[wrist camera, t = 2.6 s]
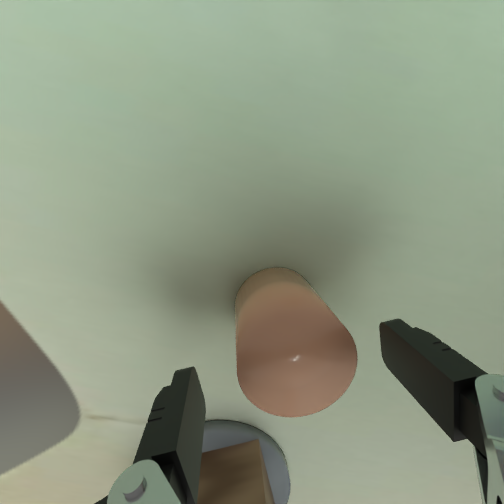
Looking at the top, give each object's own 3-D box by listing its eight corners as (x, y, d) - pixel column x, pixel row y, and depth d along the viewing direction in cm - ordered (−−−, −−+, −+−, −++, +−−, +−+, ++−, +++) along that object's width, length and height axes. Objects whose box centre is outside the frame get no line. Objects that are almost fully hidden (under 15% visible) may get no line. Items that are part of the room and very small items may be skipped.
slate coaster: (273, 405, 19) (275, 416, 18) (297, 513, 21) (301, 529, 20) (121, 441, 18) (114, 455, 17) (165, 546, 21) (162, 564, 20)
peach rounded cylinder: (307, 259, 16) (350, 297, 10) (319, 331, 18) (363, 402, 12) (226, 277, 16) (224, 326, 10) (244, 349, 17) (250, 428, 12)
